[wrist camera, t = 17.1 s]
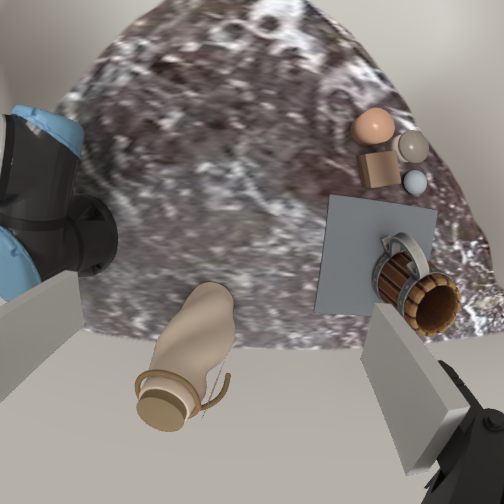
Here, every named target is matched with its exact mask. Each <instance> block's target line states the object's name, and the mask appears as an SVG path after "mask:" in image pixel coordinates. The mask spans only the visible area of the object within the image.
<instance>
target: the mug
mask: <svg viewBox="0 0 504 504" xmlns="http://www.w3.org/2000/svg"><path fill="white" fill-rule="evenodd" d="M381 243H382V246H383V248H384V250H385V251H386V253H384V255H383V256H382V257H380V259H379V260H378V261H377V263H376V265H375V270H374V271H373V275H372V282H373V288H374V291H375V293H376V295H377V296H378V298H379V299H380V300H381V301H382V302H383V303H385V304H392V305H393V307H394V308H395V309H396V310H397V311H398V313H399V314H400V315H401V316H402V317H403V319H404V320H405V321H406V322H407V323H408V325H409V326H410V327H411V328H412V330H415V331H416V332H417V333H418V334H420V335H425V336H435V335H436V333H442V332H444V331H445V330H447V328H448V326H447V325H451V324H453V322H454V321H455V319H456V314H455V313H458V312H459V310H460V306H461V304H460V301H459V300H460V298H461V296H460V292H459V290H458V288H457V287H456V285H455V284H454V282H453V281H452V280H451V279H450V278H449V277H448V276H447V275H446V274H445V273H444V272H443V271H441V270H439V269H437V268H436V267H435V266H434V265H433V264H431V263H430V262H429V261H428V260H427V259H426V257H425V255H424V253H423V251H422V250H421V248H420V247H419V245H418V244H417V242H416V241H415V240H414V239H413V238H412V237H411V236H410V235H408V234H407V233H404V232H399V233H398V234H396V235H394V236H393V237H390V235H387V236H386V237H384V238H382V239H381ZM400 245H401V246H400Z"/></svg>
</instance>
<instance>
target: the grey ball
mask: <svg viewBox="0 0 504 504" xmlns="http://www.w3.org/2000/svg"><path fill="white" fill-rule="evenodd" d="M404 186H405V188H406V190H407V191H408V192H409V193H411V194H415V195H417V194H421V193H422V192H423V191H424V190H425V189H426V186H427V180H426V177H425V176H424V174H423V173H422V172H420V171H418V170H411V171H409V172H408V173H407V174H406V175H405V177H404Z"/></svg>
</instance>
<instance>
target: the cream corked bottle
mask: <svg viewBox="0 0 504 504" xmlns="http://www.w3.org/2000/svg"><path fill="white" fill-rule="evenodd" d="M233 306H234V302H233V297H232V295H231V294H230V292H229V291H228V290H227V289H226V288H225V287H224V286H222V285H220V284H218V283H213V282H207V283H203V284H200V285H199V286H197V287H196V288H195V289H194V290H193V292H192V293H191V294H190V295H189V297H188V298H187V300H186V301H185V303H184V305H183V307H182V309H181V311H179V312H178V313H177V314H176V315H175V316H174V317H173V318H172V319H171V321H170V322H169V323H168V324H167V326H166V327H165V329H164V330H163V332H162V333H161V335H160V336H159V338H158V340H157V343H156V346H155V349H154V353H153V357H152V360H151V363H150V367H149V371H146V372H143V373H142V374H140V375H139V376H138V378H137V379H136V382H135V392H136V395H137V398H138V400H139V402H138V403H137V407H136V408H137V412H138V415H139V416H140V418H141V419H142V420H143V421H144V422H145V423H146V424H148V425H149V426H151V427H153V428H155V429H157V430H160V431H165V432H173V431H177V430H179V429H180V428H182V426H183V424H184V422H185V421H186V420H187V419H189V418H192V417H193V416H195V415H196V414H197V413H198V412H199V410H200V411H201V410H206V409H208V408H210V407H212V406H214V405H215V404H217V403H218V402H219V401H220V400H221V399H222V398H223V397H224V395H225V394H226V392H227V389H228V386H229V382H230V377H231V375H230V374H229V373H226V376H225V381H224V385H223V388H222V390H221V392H220V393H219V395H218V396H217V397H216V398H215V399H213V400H212V401H210V399H211V396H212V393H213V391H214V388H215V385H216V383H217V380H218V377H219V375H220V372H221V371H220V372H219V375H218V377H217V379H216V382H215V385H214V388H213V390H212V393H211V395H210V398H209V401H208V403H206V404H204V405H201V401H202V399H203V398H204V396H205V394H206V388H207V385H206V375H207V373H208V372H209V371H210V370H211V369H213V368H214V367H215V366H217V365H218V364H220V363H221V362H222V361H223V359H224V358H225V357H226V356H227V354H228V352H229V351H230V349H231V347H232V345H233V342H234V339H235V324H234V320H233ZM146 377H148V378H147V380H146V381H145V383H144V385H143V387H142V389H141V390H140V385H141V382H142V380H143V379H145V378H146ZM192 410H193V411H192ZM204 413H205V412H204Z"/></svg>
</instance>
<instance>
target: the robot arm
mask: <svg viewBox="0 0 504 504" xmlns="http://www.w3.org/2000/svg"><path fill="white" fill-rule="evenodd" d="M83 140H84V130H83V128H82V127H81V125H80V124H78V123H77V122H75V121H73V120H70V119H68V118H65V117H63V116H60V115H57V114H54V113H51V112H48V111H45V110H38V109H36V108H33V107H29V106H24V105H17V106H15V107H14V109H13V111H12V113H11V115H5V114H0V296H1V297H2V298H3V299H4V300H6V301H7V303H5V304H4V305H2V306H0V402H2V401H3V400H4V399H5V398H6V397H7V396H8V395H9V394H10V393H11V392H12V391H13V390H14V389H15V388H16V387H17V386H18V385H19V384H20V383H21V382H22V381H23V380H24V379H26V378H27V377H28V376H29V375H30V374H31V373H32V372H33V371H34V370H35V369H36V368H37V367H38V366H39V365H40V364H42V363H43V362H44V361H45V360H46V359H47V358H48V357H49V356H50V355H51V354H53V353H54V352H55V351H56V350H57V349H58V348H59V347H60V346H61V345H62V344H64V343H65V342H66V341H67V340H68V339H69V338H70V337H71V336H73V335H74V334H75V333H76V332H77V331H78V330H79V329H81V328H82V327H83V326H84V319H83V313H82V306H81V299H80V291H79V283H78V277H88V276H92V275H95V274H97V273H99V272H101V271H102V270H104V269H105V268H106V267H108V265H109V264H110V263H111V262H112V260H113V258H114V256H115V253H116V249H117V242H118V236H117V228H116V224H115V221H114V219H113V216H112V214H111V213H110V211H109V210H108V208H107V207H106V206H105V205H104V204H103V203H102V202H101V201H100V200H98V199H97V198H95V197H92V196H89V195H79V196H73V197H72V192H73V187H74V182H75V177H76V173H77V168H78V164H79V160H81V149H82V144H83ZM361 361H362V363H363V365H364V368H365V371H366V373H367V375H368V378H369V380H370V382H371V385H372V387H373V389H374V392H375V395H376V397H377V400H378V402H379V405H380V407H381V410H382V412H383V415H384V417H385V420H386V422H387V425H388V428H389V430H390V433H391V436H392V438H393V441H394V443H395V446H396V449H397V452H398V455H399V457H400V460H401V463H402V466H403V469H404V471H405V474H406V476H409V475H414V474H419V473H423V472H427V471H428V470H429V469H430V467H431V466H432V465H433V463H434V462H435V460H436V459H437V461H438V464H439V466H440V469H439V470H438V471H437V473H436V474H435V475H434V476H433V478H432V479H431V480H430V481H429V482H428V484H427V485H426V486H425V487H424V488H426V489H427V488H428V487H429V486H430V487H429V489H428V491H427V493H426V495H425V498H424V499H423V501H422V503H421V504H504V414H503V413H502V412H500V411H498V410H495V409H490V408H488V409H483V408H482V406H481V405H480V404H479V402H478V401H477V400H476V398H475V397H474V396H473V394H472V393H471V392H470V390H469V389H468V388H467V386H464V383H463V381H462V380H461V379H460V378H459V376H458V375H457V373H456V372H455V371H454V369H453V368H452V367H450V366H449V365H448V364H446V363H445V362H443V361H441V360H439V361H437V360H436V359H435V357H434V356H433V355H432V353H431V352H430V351H429V350H428V348H427V347H426V346H425V345H424V343H423V342H422V341H421V339H420V338H419V337H418V336H417V334H416V333H415V332H414V331H413V330H412V328H411V327H410V326H409V325H408V323H407V322H406V321H405V320H404V319H403V317H402V316H401V315H400V314H399V313H398V311H397V310H396V309H395V308H394V307H393V305H392V304H384V303H375V305H374V309H373V314H372V318H371V322H370V326H369V330H368V334H367V337H366V341H365V345H364V348H363V352H362V356H361Z"/></svg>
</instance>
